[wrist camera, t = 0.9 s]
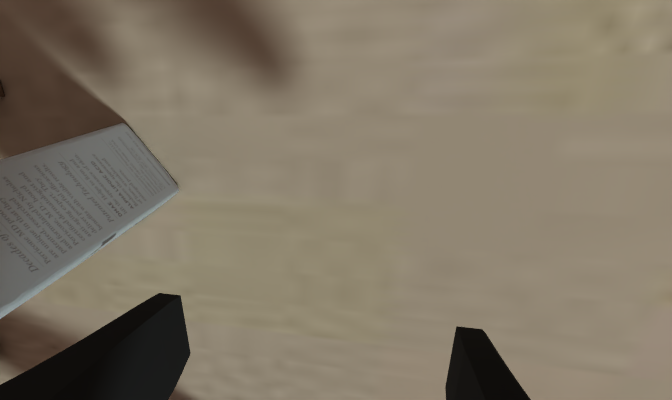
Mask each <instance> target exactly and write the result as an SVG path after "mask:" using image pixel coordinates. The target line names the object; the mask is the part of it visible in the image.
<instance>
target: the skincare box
mask: <svg viewBox="0 0 672 400" xmlns="http://www.w3.org/2000/svg"><path fill="white" fill-rule="evenodd" d="M178 191H179V188H178V186H177V184H176V183H175V182H174V180H173V179H172V178H171V177H170V175H169V174H168V173H167V171H166V170H165V169H164V167H163V166H162V165H161V164H160V163H159V161H158V160H157V159H156V158H155V157H154V156H153V154H152V153H151V152H150V151H149V149H148V148H147V147H146V146H145V145H144V144H143V143H142V141H141V140H140V139H139V138H138V137H137V136H136V135H135V133H134V132H133V131H132V130H131V129H130V128H129V127H128V126H127V125H126V124H125V123H120V124H117V125H113V126H110V127H107V128H103V129H100V130H97V131H93V132H90V133H87V134H83V135H80V136H77V137H74V138H70V139H67V140H64V141H61V142H57V143H54V144H51V145H48V146H44V147H41V148H38V149H34V150H31V151H28V152H24V153H21V154H18V155H14V156H11V157H8V158H4V159H1V160H0V319H1V318H2V317H4V316H5V315H7V314H8V313H10V312H11V311H13V310H14V309H16V308H17V307H19V306H20V305H22V304H23V303H24V302H26V301H27V300H29V299H30V298H32V297H33V296H34V295H36V294H37V293H39V292H40V291H42V290H43V289H45V288H46V287H47V286H49V285H50V284H52V283H53V282H55V281H56V280H57V279H59V278H60V277H62V276H63V275H65V274H66V273H67V272H69V271H70V270H72V269H73V268H75V267H76V266H77V265H79V264H80V263H82V262H83V261H85V260H86V259H87V258H89V257H90V256H92V255H93V254H95V253H96V252H97V251H99V250H100V249H102V248H103V247H104V246H106V245H107V244H109V243H110V242H112V241H113V240H114V239H116V238H117V237H119V236H120V235H121V234H123V233H124V232H126V231H127V230H128V229H130V228H131V227H133V226H134V225H135V224H137V223H138V222H140V221H141V220H142V219H144V218H145V217H146V216H148V215H149V214H151V213H152V212H153V211H155V210H156V209H157V208H159V207H160V206H161V205H163V204H164V203H165V202H166V201H168V200H169V199H170V198H172V197H173V196H174V195H175V194H176V193H178Z"/></svg>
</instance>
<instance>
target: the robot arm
mask: <svg viewBox="0 0 672 400" xmlns="http://www.w3.org/2000/svg"><path fill="white" fill-rule="evenodd" d="M189 356H190V348H189V342H188V336H187V331H186V325H185V319H184V313H183V307H182V302H181V296H180V295H171V294H162V293H159V294H157V295H155V296H153V297H151V298H150V299H148V300H146V301H144V302H143V303H141V304H139V305H138V306H136V307H135V308H133V309H131V310H130V311H128V312H126V313H125V314H123V315H122V316H120V317H118V318H117V319H115V320H113V321H112V322H110V323H109V324H107V325H105V326H104V327H102V328H100V329H99V330H97V331H95V332H94V333H92V334H90V335H89V336H87V337H86V338H84V339H82V340H81V341H79V342H77V343H76V344H74V345H72V346H70V347H69V348H67V349H65V350H63V351H61V352H60V353H58V354H56V355H54V356H53V357H51V358H49V359H47V360H46V361H44V362H42V363H40V364H39V365H37V366H35V367H33V368H32V369H30V370H28V371H26V372H24V373H22V374H20V375H18V376H16V377H15V378H13V379H11V380H9V381H7V382H5V383H3V384H1V385H0V400H168V399H169V397H170V395H171V394H172V392H173V390H174V388H175V386H176V384H177V382H178V380H179V378H180V376H181V374H182V372H183V369H184V367H185V365H186V362H187V360H188V358H189ZM446 400H531V399H530V398H529V397H528V395H527V394H526V393H525V391H524V390H523V389H522V387H521V386H520V384H519V383H518V381H517V380H516V379H515V377H514V376H513V374H512V373H511V371H510V370H509V368H508V367H507V365H506V364H505V362H504V361H503V359H502V358H501V356H500V355H499V353H498V352H497V350H496V349H495V347H494V346H493V344H492V342H491V341H490V339H489V338H488V336H487V335H486V333H485V332H484V331H483V330H482V329H474V328H465V327H456V332H455V337H454V343H453V348H452V354H451V359H450V365H449V370H448V376H447V381H446Z"/></svg>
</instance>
